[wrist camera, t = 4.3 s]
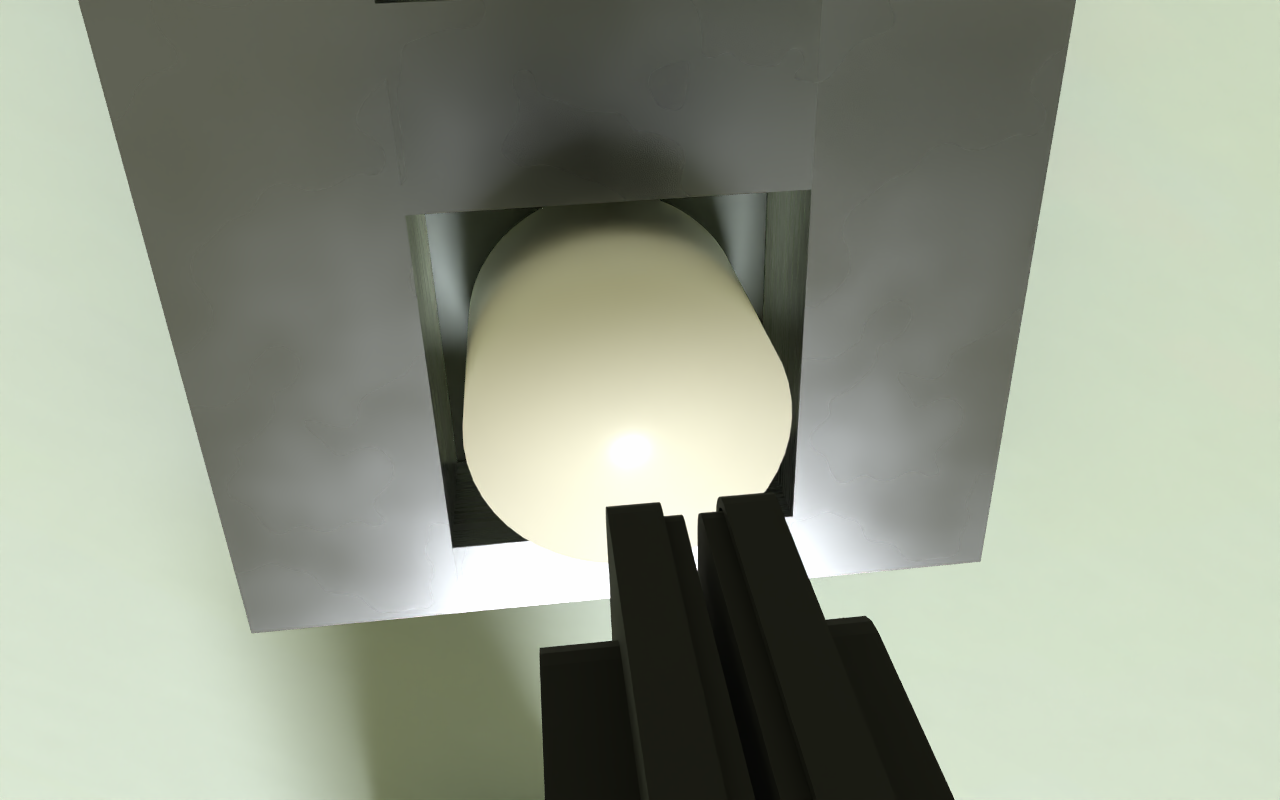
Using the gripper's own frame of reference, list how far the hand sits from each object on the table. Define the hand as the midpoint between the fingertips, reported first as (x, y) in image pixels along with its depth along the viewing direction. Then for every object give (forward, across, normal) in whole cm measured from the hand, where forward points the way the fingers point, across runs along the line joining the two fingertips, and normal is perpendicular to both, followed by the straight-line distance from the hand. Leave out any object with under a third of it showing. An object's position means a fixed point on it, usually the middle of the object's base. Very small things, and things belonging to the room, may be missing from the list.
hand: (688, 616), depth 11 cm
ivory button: (+7, 0, 0) cm, 7 cm away
